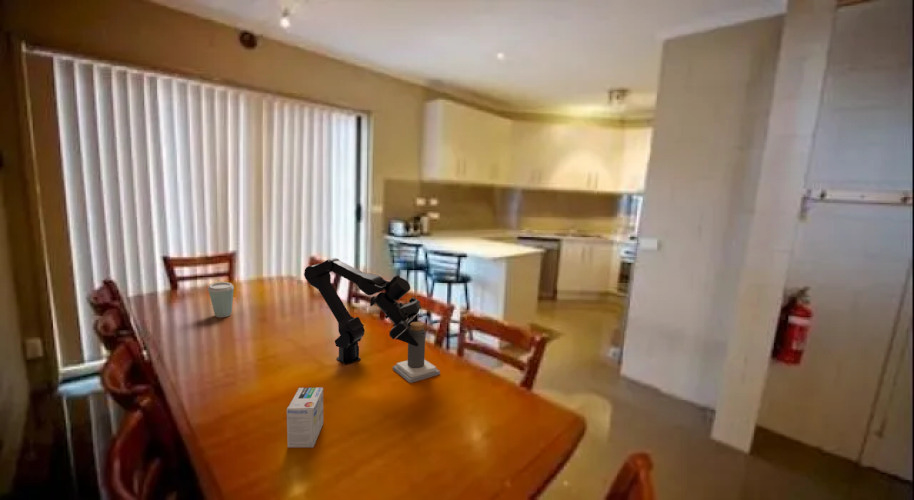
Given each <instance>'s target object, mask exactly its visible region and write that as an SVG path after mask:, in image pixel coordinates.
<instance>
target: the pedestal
mask: <svg viewBox="0 0 914 500" xmlns="http://www.w3.org/2000/svg"><path fill="white" fill-rule="evenodd" d="M392 370H393V371H394V372H396V374H398V375H399V376H401V378H403V379H404V380H405V381H407V382H408V383H410V384H412V383H415V382H418V381H422V380H426V379H428V378H433V377H436V376H439V375H440V374H441V371H440V369H438V368H437V366H436V365H434V364H433V363H430V361H428V360H426V358H424V366H423V367H420V368H411V367H409V366H408V359H407V360H404V361H400V362H396V364H395V365H393V366H392Z"/></svg>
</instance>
